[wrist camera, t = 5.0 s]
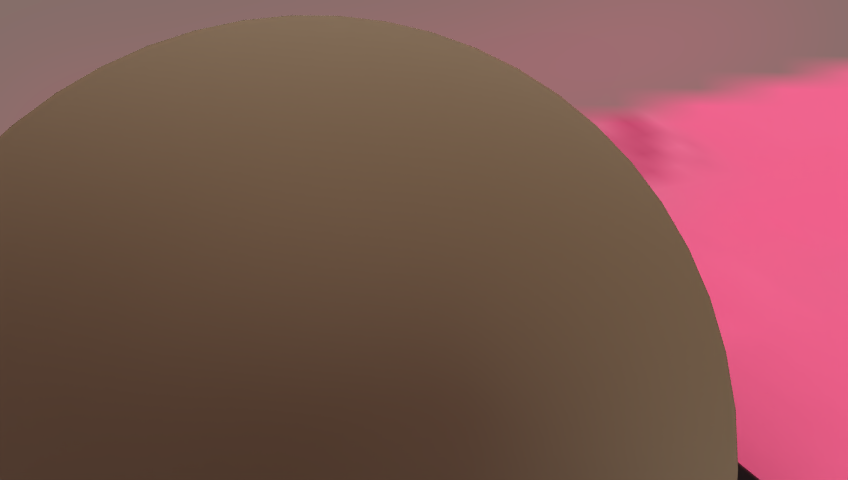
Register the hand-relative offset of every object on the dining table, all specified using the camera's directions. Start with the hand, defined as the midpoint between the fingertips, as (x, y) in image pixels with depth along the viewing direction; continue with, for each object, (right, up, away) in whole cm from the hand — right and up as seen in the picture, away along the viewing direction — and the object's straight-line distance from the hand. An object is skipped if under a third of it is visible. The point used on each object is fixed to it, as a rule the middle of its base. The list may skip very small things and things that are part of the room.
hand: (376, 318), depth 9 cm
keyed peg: (0, -3, +6) cm, 7 cm away
